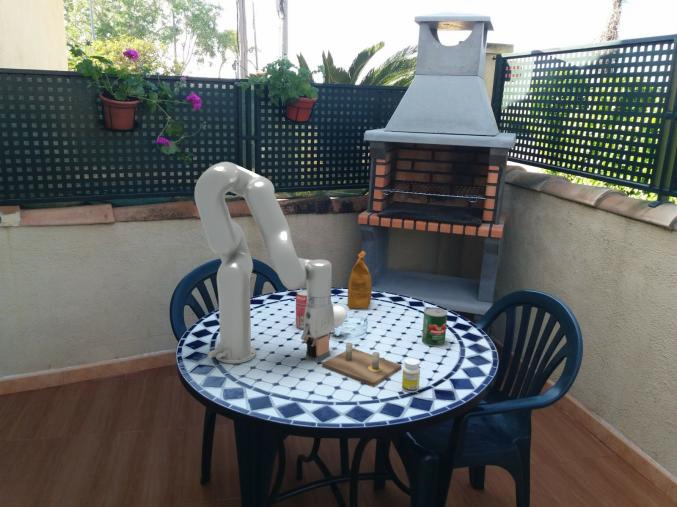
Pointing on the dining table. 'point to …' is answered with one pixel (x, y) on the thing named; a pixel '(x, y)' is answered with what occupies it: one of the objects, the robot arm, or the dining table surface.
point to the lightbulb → (339, 316)
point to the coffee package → (359, 285)
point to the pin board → (362, 366)
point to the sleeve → (321, 347)
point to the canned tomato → (434, 327)
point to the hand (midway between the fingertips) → (317, 352)
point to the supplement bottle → (411, 375)
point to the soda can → (300, 308)
